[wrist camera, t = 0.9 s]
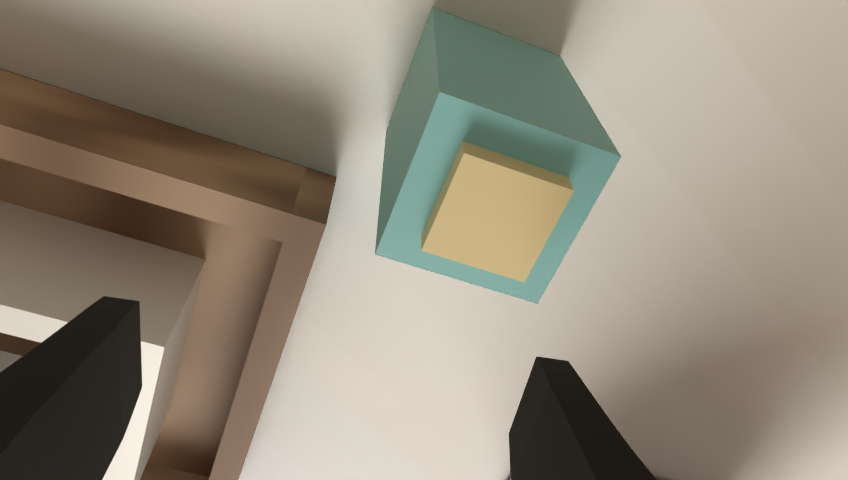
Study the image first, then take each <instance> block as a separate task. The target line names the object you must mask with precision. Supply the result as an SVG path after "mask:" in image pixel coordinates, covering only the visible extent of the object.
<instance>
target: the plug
mask: <svg viewBox="0 0 848 480" xmlns="http://www.w3.org/2000/svg"><path fill="white" fill-rule="evenodd" d="M620 158H621V156H620V154H619V152H618V151H617V149H616V147H615V146H614V144H613V143H612V141H611V139H610V138H609V136H608V134H607V133H606V131H605V129H604V128H603V126H602V124H601V123H600V121H599V119H598V118H597V116H596V115H595V113H594V111H593V110H592V108H591V106H590V105H589V103H588V101H587V100H586V98H585V96H584V95H583V93H582V91H581V90H580V88H579V87H578V85H577V83H576V82H575V80H574V78H573V77H572V75H571V73H570V72H569V70H568V68H567V67H566V65H565V63H564V62H563V60H562V59H561V57H560V56H558V55H556V54H553V53H550V52H548V51H545V50H543V49H540V48H537V47H535V46H532V45H529V44H527V43H524V42H522V41H519V40H516V39H514V38H511V37H509V36H506V35H503V34H501V33H498V32H495V31H493V30H490V29H488V28H485V27H482V26H480V25H477V24H474V23H472V22H469V21H467V20H464V19H461V18H459V17H456V16H453V15H451V14H448V13H446V12H443V11H440V10H438V9H435V8H433V7H432V9H431V12H430V14H429V17H428V20H427V23H426V25H425V28H424V31H423V33H422V36H421V39H420V42H419V44H418V47H417V50H416V52H415V55H414V58H413V61H412V63H411V66H410V69H409V71H408V74H407V77H406V80H405V82H404V85H403V88H402V91H401V93H400V96H399V99H398V101H397V104H396V107H395V110H394V112H393V115H392V118H391V120H390V123H389V126H388V129H387V131H386V140H385V151H384V162H383V173H382V184H381V195H380V205H379V216H378V227H377V238H376V249H375V255H379V256H382V257H385V258H389V259H392V260H395V261H398V262H402V263H405V264H408V265H412V266H415V267H418V268H422V269H425V270H428V271H431V272H435V273H438V274H441V275H445V276H448V277H451V278H455V279H458V280H461V281H464V282H468V283H471V284H474V285H478V286H481V287H484V288H488V289H491V290H494V291H497V292H501V293H504V294H507V295H511V296H514V297H517V298H521V299H524V300H527V301H530V302H534V303H537V304H538V302H539V300H540V299H541V297H542V295H543V293H544V292H545V290H546V288H547V286H548V284H549V283H550V281H551V279H552V277H553V276H554V274H555V272H556V270H557V269H558V267H559V265H560V263H561V262H562V260H563V258H564V256H565V255H566V253H567V251H568V249H569V247H570V246H571V244H572V242H573V240H574V239H575V237H576V235H577V233H578V232H579V230H580V228H581V226H582V225H583V223H584V221H585V219H586V218H587V216H588V214H589V212H590V210H591V209H592V207H593V205H594V203H595V202H596V200H597V198H598V196H599V195H600V193H601V191H602V189H603V188H604V186H605V184H606V182H607V181H608V179H609V177H610V175H611V173H612V172H613V170H614V168H615V166H616V165H617V163H618V161H619V159H620Z"/></svg>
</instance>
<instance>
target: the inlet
mask: <svg viewBox="0 0 848 480" xmlns="http://www.w3.org/2000/svg"><path fill="white" fill-rule="evenodd" d="M205 262H206V259H202V258H199V257H195V256H192V255H189V254H185V253H182V252H178V251H175V250H171V249H168V248H164V247H161V246H157V245H154V244H150V243H147V242H143V241H140V240H136V239H133V238H129V237H126V236H122V235H119V234H116V233H112V232H109V231H105V230H102V229H98V228H95V227H91V226H88V225H84V224H81V223H77V222H74V221H70V220H67V219H63V218H60V217H56V216H53V215H50V214H46V213H43V212H39V211H36V210H32V209H29V208H25V207H22V206H18V205H15V204H11V203H8V202H4V201H1V200H0V332H1V333H5V334H9V335H12V336H16V337H20V338H24V339H28V340H32V341H36V342H40V343H41V342H43V341H44V340H45V339H47V338H48V337H49V336H51V335H52V334H53V333H55V332H56V331H57V330H59V329H60V328H61V327H63V326H64V325H65V324H67V323H68V322H69V321H71V320H72V319H73V318H75V317H76V316H77V315H78V314H80V313H81V312H82V311H84V310H85V309H86V308H88V307H89V306H90V305H92V304H93V303H94V302H96V301H97V300H99V299H100V298H102V297H103V296H107V297H114V298H121V299H129V300H136V301H139V302H140V332H141V363H142V389H141V392H140V395H139V397H138V400H137V403H136V406H135V409H134V411H133V414H132V417H131V419H130V422H129V425H128V427H127V430H126V433H125V435H124V438H123V440H122V442H121V444H120V446H119V448H118V450H117V452H116V454H115V456H114V458H113V460H112V462H111V464H110V466H109V467H108V469H107V471H106V473H105V475H104V477H103V479H102V480H140V478H141V476H142V474H143V471H144V469H145V466H146V464H147V462H148V459H149V457H150V454H151V452H152V450H153V447H154V445H155V442H156V440H157V438H158V435H159V433H160V430H161V428H162V426H163V423H164V421H165V418H166V416H167V414H168V411H169V407H170V403H171V399H172V395H173V391H174V387H175V383H176V379H177V375H178V371H179V367H180V363H181V359H182V355H183V351H184V347H185V343H186V338H187V334H188V330H189V326H190V322H191V318H192V314H193V310H194V306H195V302H196V298H197V294H198V290H199V286H200V282H201V278H202V274H203V270H204V266H205ZM21 357H22V356H21V355H17V354H12V353H8V352H4V351H0V372H1V371H3V370H4V369H5V368H7V367H8V366H10V365H11V364H12V363H14V362H15V361H17V360H18V359H19V358H21Z"/></svg>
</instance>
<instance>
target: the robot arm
mask: <svg viewBox="0 0 848 480" xmlns="http://www.w3.org/2000/svg"><path fill="white" fill-rule="evenodd" d="M141 389H142V363H141V332H140V302H139V301H136V300H129V299H121V298H114V297H107V296H103V297H102V298H100V299H99V300H97V301H96V302H94V303H93V304H92V305H90V306H89V307H88V308H86V309H85V310H84V311H82V312H81V313H80V314H78V315H77V316H76V317H75V318H73V319H72V320H71V321H69V322H68V323H67V324H65V325H64V326H63V327H61V328H60V329H59V330H57V331H56V332H55V333H53V334H52V335H51V336H49V337H48V338H47V339H45V340H44V341H43V342H41V343H40V344H39V345H37V346H36V347H35V348H33V349H32V350H30V351H29V352H28V353H26V354H25V355H23V356H22V357H21V358H19V359H18V360H17V361H15V362H14V363H12V364H11V365H10V366H8V367H7V368H5V369H4V370H3V371H1V372H0V480H102V479H103V477H104V475H105V473H106V471H107V469H108V467H109V466H110V464H111V462H112V460H113V458H114V456H115V454H116V452H117V450H118V448H119V446H120V444H121V442H122V440H123V438H124V435H125V433H126V430H127V427H128V425H129V422H130V419H131V417H132V414H133V411H134V409H135V406H136V403H137V400H138V397H139V395H140V392H141ZM509 446H510V467H511V478H510V480H656V478H655V477H654V476H653V475H652V474H651V473H650V471H649V470H648V469H647V468H646V466H645V465H644V464H643V463H642V461H641V460H640V459H639V458H638V456H637V455H636V454H635V453H634V451H633V450H632V449H631V448H630V446H629V445H628V444H627V442H626V441H625V440H624V438H623V437H622V436H621V434H620V433H619V432H618V430H617V429H616V428H615V426H614V425H613V424H612V422H611V421H610V419H609V418H608V417H607V415H606V414H605V412H604V411H603V410H602V408H601V407H600V405H599V404H598V403H597V401H596V400H595V398H594V397H593V396H592V394H591V393H590V391H589V390H588V388H587V387H586V386H585V384H584V383H583V381H582V380H581V378H580V377H579V376H578V374H577V373H576V371H575V370H574V368H573V367H572V366H571V364H570V363H569V362H568V361H564V360H557V359H550V358H543V357H536V360H535V362H534V365H533V368H532V371H531V373H530V376H529V379H528V382H527V385H526V387H525V390H524V393H523V396H522V399H521V401H520V404H519V407H518V410H517V413H516V415H515V418H514V421H513V424H512V426H511V429H510V432H509Z"/></svg>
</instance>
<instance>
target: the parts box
mask: <svg viewBox="0 0 848 480" xmlns="http://www.w3.org/2000/svg"><path fill="white" fill-rule="evenodd" d="M335 182H336V177H334V176H331V175H327V174H324V173H321V172H318V171H315V170H312V169H309V168H306V167H303V166H299V165H296V164H293V163H290V162H287V161H284V160H281V159H278V158H275V157H272V156H268V155H265V154H262V153H259V152H256V151H253V150H250V149H247V148H244V147H241V146H237V145H234V144H231V143H228V142H225V141H222V140H219V139H216V138H213V137H209V136H206V135H203V134H200V133H197V132H194V131H191V130H188V129H185V128H182V127H178V126H175V125H172V124H169V123H166V122H163V121H160V120H157V119H154V118H151V117H147V116H144V115H141V114H138V113H135V112H132V111H129V110H126V109H123V108H119V107H116V106H113V105H110V104H107V103H104V102H101V101H98V100H95V99H92V98H88V97H85V96H82V95H79V94H76V93H73V92H70V91H67V90H64V89H61V88H57V87H54V86H51V85H48V84H45V83H42V82H39V81H36V80H33V79H29V78H26V77H23V76H20V75H17V74H14V73H11V72H8V71H5V70H2V69H0V200H1V201H4V202H8V203H11V204H15V205H18V206H22V207H25V208H29V209H32V210H36V211H39V212H43V213H46V214H50V215H53V216H56V217H60V218H63V219H67V220H70V221H74V222H77V223H81V224H84V225H88V226H91V227H95V228H98V229H102V230H105V231H109V232H112V233H116V234H119V235H122V236H126V237H129V238H133V239H136V240H140V241H143V242H147V243H150V244H154V245H157V246H161V247H164V248H168V249H171V250H175V251H178V252H182V253H185V254H189V255H192V256H195V257H199V258H202V259H206V262H205V266H204V270H203V274H202V278H201V282H200V286H199V290H198V294H197V298H196V302H195V306H194V310H193V314H192V318H191V322H190V326H189V330H188V334H187V338H186V343H185V347H184V351H183V355H182V359H181V363H180V367H179V371H178V375H177V379H176V383H175V387H174V391H173V395H172V399H171V403H170V407H169V411H168V414H167V416H166V418H165V421H164V423H163V426H162V428H161V430H160V433H159V435H158V438H157V440H156V442H155V445H154V447H153V450H152V452H151V454H150V457H149V459H148V462H147V464H146V466H145V469H144V471H143V474H142V476H141V478H140V480H238V479H239V476H240V473H241V470H242V467H243V464H244V461H245V458H246V455H247V452H248V450H249V447H250V444H251V441H252V438H253V435H254V432H255V429H256V426H257V423H258V421H259V418H260V415H261V412H262V409H263V406H264V403H265V400H266V397H267V394H268V392H269V389H270V386H271V383H272V380H273V377H274V374H275V371H276V368H277V365H278V363H279V360H280V357H281V354H282V351H283V348H284V345H285V342H286V339H287V336H288V334H289V331H290V328H291V325H292V322H293V319H294V316H295V313H296V310H297V307H298V305H299V302H300V299H301V296H302V293H303V290H304V287H305V284H306V281H307V278H308V276H309V273H310V270H311V267H312V264H313V261H314V258H315V255H316V252H317V249H318V247H319V244H320V241H321V238H322V235H323V232H324V229H325V226H326V223H327V218H328V213H329V209H330V204H331V200H332V195H333V191H334V186H335ZM39 344H40V342H36V341H32V340H28V339H24V338H20V337H16V336H12V335H9V334H5V333H1V332H0V351H4V352H8V353H12V354H17V355H21V356H23V355H25V354H26V353H28V352H29V351H30V350H32V349H33V348H35V347H36V346H37V345H39Z"/></svg>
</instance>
